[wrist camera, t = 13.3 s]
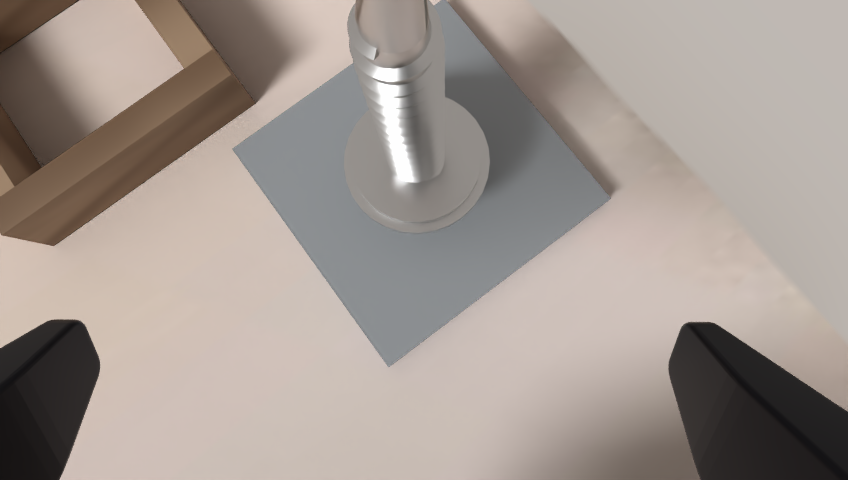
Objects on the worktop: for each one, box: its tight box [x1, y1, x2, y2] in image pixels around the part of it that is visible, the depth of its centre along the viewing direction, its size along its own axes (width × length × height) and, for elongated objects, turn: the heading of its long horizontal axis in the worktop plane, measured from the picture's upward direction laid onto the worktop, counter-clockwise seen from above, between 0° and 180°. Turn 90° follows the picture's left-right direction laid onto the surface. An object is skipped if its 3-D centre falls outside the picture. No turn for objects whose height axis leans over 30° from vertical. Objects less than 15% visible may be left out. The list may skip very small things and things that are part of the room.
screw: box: [344, 0, 490, 234], centre depth 14 cm, size 13×5×5 cm
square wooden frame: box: [0, 0, 255, 246], centre depth 21 cm, size 9×9×2 cm
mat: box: [233, 0, 611, 367], centre depth 21 cm, size 10×10×1 cm
